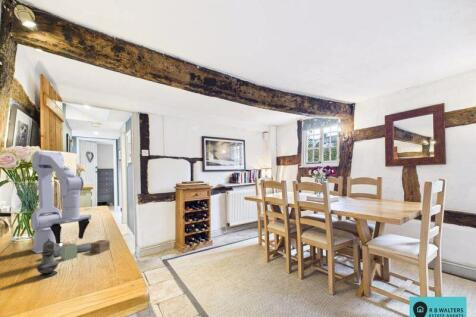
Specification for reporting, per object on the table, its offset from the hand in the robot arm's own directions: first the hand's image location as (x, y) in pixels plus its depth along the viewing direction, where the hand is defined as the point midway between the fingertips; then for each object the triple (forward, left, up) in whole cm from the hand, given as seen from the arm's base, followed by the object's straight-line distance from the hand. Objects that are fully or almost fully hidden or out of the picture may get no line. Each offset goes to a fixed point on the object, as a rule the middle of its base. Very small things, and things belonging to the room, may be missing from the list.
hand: (69, 240), depth 90 cm
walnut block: (+2, +11, -7) cm, 13 cm away
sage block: (0, 0, -7) cm, 7 cm away
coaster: (-7, +9, -7) cm, 13 cm away
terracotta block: (-12, +1, -7) cm, 14 cm away
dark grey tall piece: (+12, -10, -7) cm, 17 cm away
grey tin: (-7, -2, -7) cm, 10 cm away
